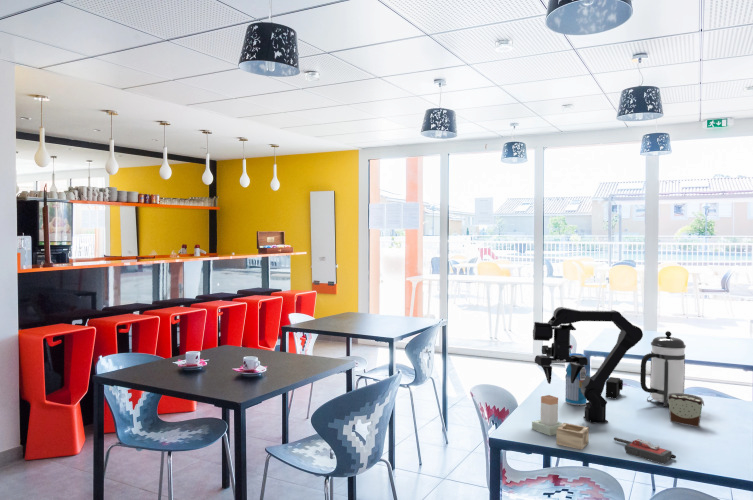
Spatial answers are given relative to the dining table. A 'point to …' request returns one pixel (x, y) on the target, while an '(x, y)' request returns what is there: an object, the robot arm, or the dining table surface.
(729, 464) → the dining table surface
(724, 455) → the dining table surface
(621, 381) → the digital camera
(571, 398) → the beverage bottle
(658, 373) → the coffee press
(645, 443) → the walkie-talkie
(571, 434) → the box
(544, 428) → the tray
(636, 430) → the dining table surface
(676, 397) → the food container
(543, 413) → the plug
